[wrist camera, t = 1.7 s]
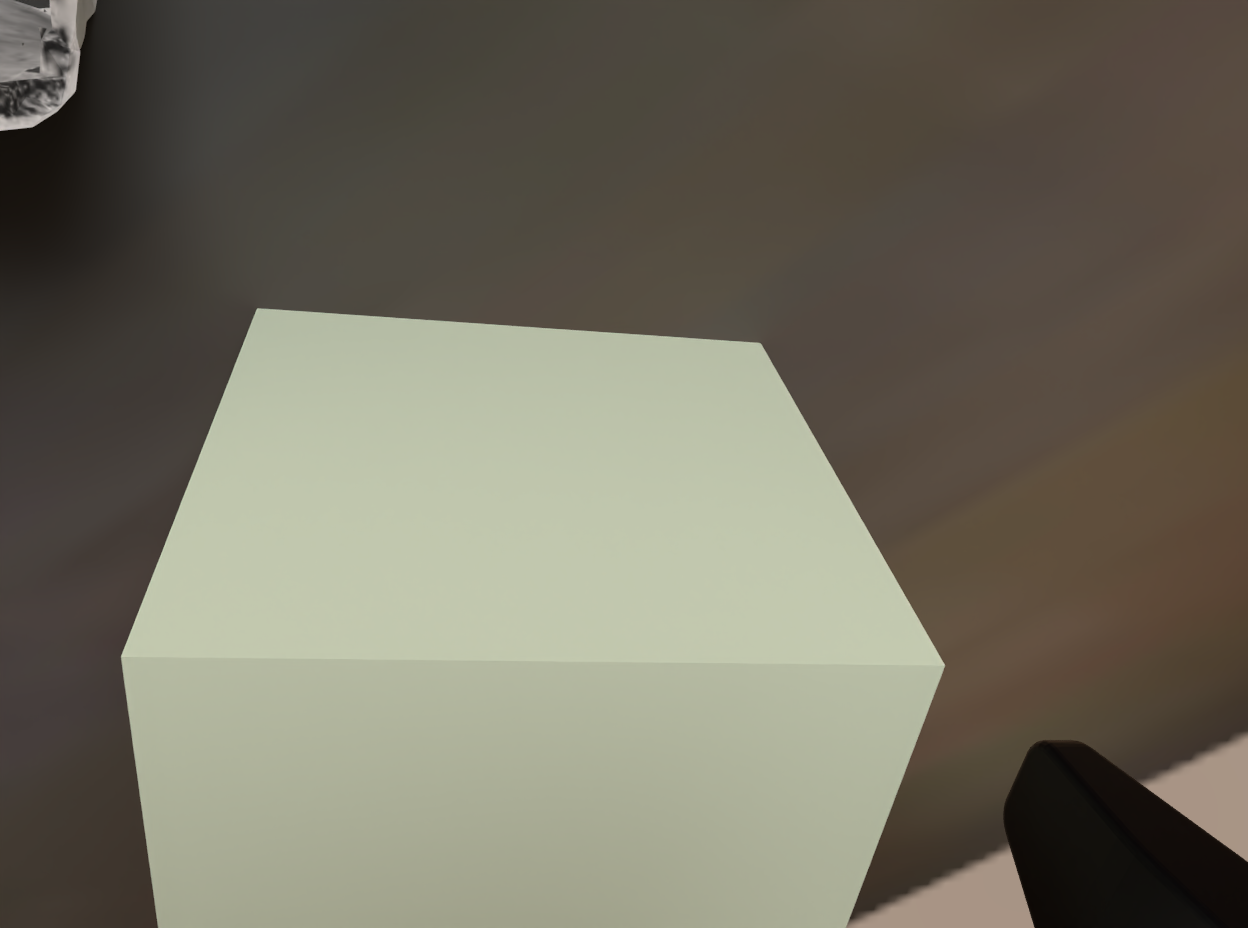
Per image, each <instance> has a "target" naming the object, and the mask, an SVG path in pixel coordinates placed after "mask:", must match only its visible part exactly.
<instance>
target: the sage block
mask: <svg viewBox="0 0 1248 928" xmlns="http://www.w3.org/2000/svg"><path fill="white" fill-rule="evenodd" d="M121 661H122V668H123V675H124V682H125V690H126V697H127V704H128V712H129V719H130V726H131V733H132V741H133V748H134V755H135V763H136V770H137V777H138V784H139V792H140V799H141V806H142V814H143V821H144V828H145V835H146V843H147V850H148V857H149V865H150V872H151V879H152V886H153V894H154V901H155V908H156V916H157V923H158V928H846V926H847V923H848V921H849V918H850V916H851V913H852V910H853V908H854V905H855V902H856V900H857V897H858V894H859V892H860V889H861V886H862V884H863V881H864V879H865V876H866V873H867V871H868V868H869V865H870V863H871V860H872V857H873V855H874V852H875V849H876V847H877V844H878V841H879V839H880V836H881V834H882V831H883V828H884V826H885V823H886V820H887V818H888V815H889V812H890V810H891V807H892V804H893V802H894V799H895V797H896V794H897V791H898V789H899V786H900V783H901V781H902V778H903V775H904V773H905V770H906V767H907V765H908V762H909V760H910V757H911V754H912V752H913V749H914V746H915V744H916V741H917V738H918V736H919V733H920V730H921V728H922V725H923V723H924V720H925V717H926V715H927V712H928V709H929V707H930V704H931V701H932V699H933V696H934V693H935V691H936V688H937V685H938V683H939V680H940V678H941V675H942V672H943V670H944V667H945V665H944V663H943V661H942V659H941V658H940V656H939V654H938V652H937V651H936V649H935V647H934V645H933V644H932V642H931V640H930V638H929V637H928V635H927V633H926V631H925V630H924V628H923V626H922V624H921V623H920V621H919V619H918V617H917V616H916V614H915V612H914V610H913V609H912V607H911V605H910V603H909V602H908V600H907V598H906V596H905V595H904V593H903V591H902V590H901V588H900V586H899V584H898V583H897V581H896V579H895V577H894V576H893V574H892V572H891V570H890V569H889V567H888V565H887V563H886V562H885V560H884V558H883V556H882V555H881V553H880V551H879V549H878V548H877V546H876V544H875V542H874V541H873V539H872V537H871V535H870V534H869V532H868V530H867V528H866V527H865V525H864V523H863V521H862V520H861V518H860V516H859V514H858V513H857V511H856V509H855V507H854V506H853V504H852V502H851V500H850V499H849V497H848V495H847V493H846V492H845V490H844V488H843V486H842V485H841V483H840V481H839V479H838V478H837V476H836V474H835V472H834V471H833V469H832V467H831V465H830V464H829V462H828V460H827V458H826V457H825V455H824V453H823V451H822V450H821V448H820V446H819V444H818V443H817V441H816V439H815V437H814V436H813V434H812V432H811V430H810V429H809V427H808V425H807V423H806V422H805V420H804V418H803V417H802V415H801V413H800V411H799V410H798V408H797V406H796V404H795V403H794V401H793V399H792V397H791V396H790V394H789V392H788V390H787V389H786V387H785V385H784V383H783V382H782V380H781V378H780V376H779V375H778V373H777V371H776V369H775V368H774V366H773V364H772V362H771V361H770V359H769V357H768V355H767V354H766V352H765V350H764V348H763V347H762V345H761V343H751V342H737V341H722V340H708V339H693V338H679V337H664V336H650V335H635V334H621V333H606V332H592V331H577V330H563V329H548V328H534V327H519V326H505V325H490V324H476V323H461V322H447V321H432V320H418V319H403V318H389V317H374V316H360V315H345V314H331V313H316V312H302V311H287V310H273V309H258V308H257V310H256V313H255V315H254V318H253V320H252V323H251V325H250V328H249V330H248V333H247V336H246V338H245V341H244V343H243V346H242V348H241V351H240V353H239V356H238V359H237V361H236V364H235V366H234V369H233V371H232V374H231V377H230V379H229V382H228V384H227V387H226V389H225V392H224V394H223V397H222V400H221V402H220V405H219V407H218V410H217V412H216V415H215V417H214V420H213V423H212V425H211V428H210V430H209V433H208V435H207V438H206V441H205V443H204V446H203V448H202V451H201V453H200V456H199V458H198V461H197V464H196V466H195V469H194V471H193V474H192V476H191V479H190V482H189V484H188V487H187V489H186V492H185V494H184V497H183V499H182V502H181V505H180V507H179V510H178V512H177V515H176V517H175V520H174V522H173V525H172V528H171V530H170V533H169V535H168V538H167V540H166V543H165V546H164V548H163V551H162V553H161V556H160V558H159V561H158V563H157V566H156V569H155V571H154V574H153V576H152V579H151V581H150V584H149V586H148V589H147V592H146V594H145V597H144V599H143V602H142V604H141V607H140V610H139V612H138V615H137V617H136V620H135V622H134V625H133V627H132V630H131V633H130V635H129V638H128V640H127V643H126V645H125V648H124V650H123V653H122V656H121Z"/></svg>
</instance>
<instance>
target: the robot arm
mask: <svg viewBox="0 0 1248 928" xmlns="http://www.w3.org/2000/svg"><path fill="white" fill-rule="evenodd" d="M1003 820H1004V827H1005V832H1006V835H1007V839H1008V842H1009V845H1010V849H1011V852H1012V855H1013V858H1014V862H1015V865H1016V868H1017V871H1018V875H1019V878H1020V881H1021V884H1022V888H1023V891H1024V894H1025V898H1026V901H1027V904H1028V908H1029V911H1030V914H1031V918H1032V921H1033V924H1034V927H1035V928H1248V862H1247V861H1245V860H1244V859H1243V858H1242V857H1240V856H1239V855H1237V854H1236V853H1235V852H1233V851H1232V850H1231V849H1229V848H1228V847H1226V846H1225V845H1224V844H1222V843H1221V842H1220V841H1218V840H1217V839H1215V838H1214V837H1213V836H1211V835H1210V834H1209V833H1207V832H1206V831H1205V830H1203V829H1202V828H1200V827H1199V826H1198V825H1196V824H1195V823H1193V822H1192V821H1191V820H1189V819H1188V818H1187V817H1185V816H1184V815H1182V814H1181V813H1180V812H1178V811H1177V810H1176V809H1174V808H1173V807H1171V806H1170V805H1169V804H1168V803H1166V802H1165V801H1163V800H1162V799H1160V798H1159V797H1158V796H1156V795H1155V794H1154V793H1152V792H1151V791H1149V790H1148V789H1147V788H1146V787H1144V786H1143V785H1141V784H1140V783H1139V782H1137V781H1136V780H1135V779H1133V778H1132V777H1130V776H1129V775H1128V774H1126V773H1125V772H1124V771H1122V770H1121V769H1120V768H1118V767H1117V766H1115V765H1114V764H1113V763H1111V762H1110V761H1109V760H1107V759H1106V758H1104V757H1103V756H1102V755H1100V754H1099V753H1098V752H1096V751H1095V750H1093V749H1092V748H1091V747H1089V746H1088V745H1086V744H1084V743H1082V742H1079V741H1074V740H1043V741H1039V742H1036V743H1035V744H1034V745H1033V746H1032V747H1030V749H1029V751H1028V752H1027V754H1026V757H1025V759H1024V761H1023V763H1022V765H1021V768H1020V770H1019V772H1018V774H1017V776H1016V779H1015V781H1014V783H1013V785H1012V787H1011V790H1010V792H1009V794H1008V796H1007V799H1006V801H1005V806H1004V813H1003Z"/></svg>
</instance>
